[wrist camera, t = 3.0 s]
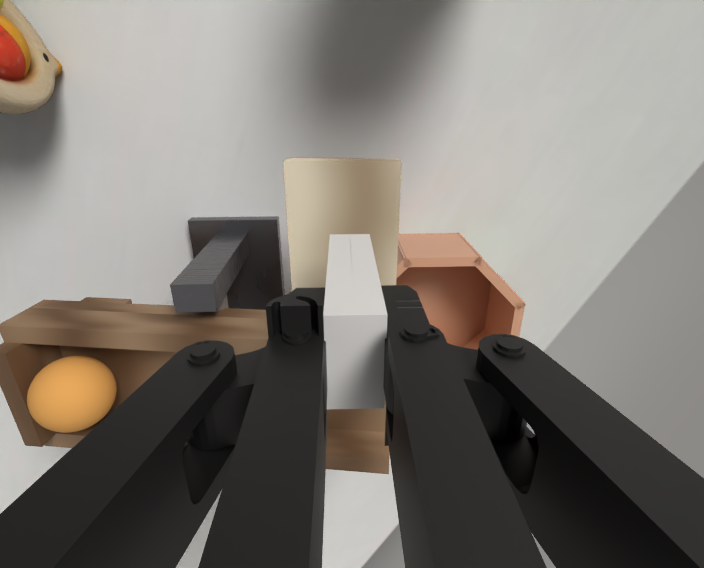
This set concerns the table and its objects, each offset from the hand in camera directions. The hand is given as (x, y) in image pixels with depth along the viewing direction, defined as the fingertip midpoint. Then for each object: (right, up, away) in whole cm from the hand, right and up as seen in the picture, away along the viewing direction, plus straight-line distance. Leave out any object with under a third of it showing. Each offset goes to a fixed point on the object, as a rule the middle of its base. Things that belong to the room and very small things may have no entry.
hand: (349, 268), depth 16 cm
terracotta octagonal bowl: (+5, -2, +16) cm, 17 cm away
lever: (-7, -1, +9) cm, 12 cm away
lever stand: (-8, -2, +16) cm, 18 cm away
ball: (-15, -7, +6) cm, 17 cm away
